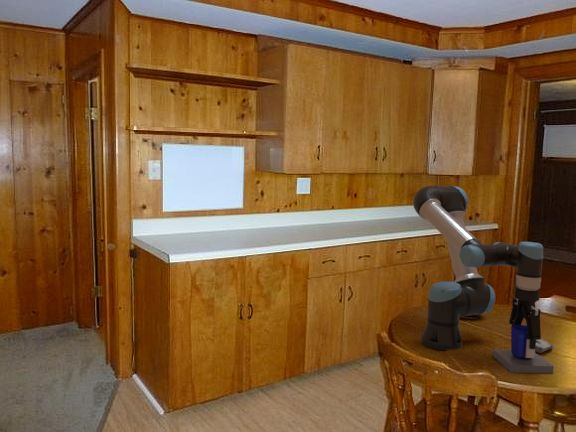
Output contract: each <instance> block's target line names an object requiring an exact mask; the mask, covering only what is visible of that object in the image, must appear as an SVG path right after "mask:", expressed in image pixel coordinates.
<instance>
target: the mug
mask: <svg viewBox="0 0 576 432" xmlns="http://www.w3.org/2000/svg"><path fill="white" fill-rule="evenodd" d="M531 336H532V335H531ZM527 338H528V331H527V325H526V324H521V325H512V324H511V327H510V344H511V345H510V350H511V352H512V354H513V355H514V356H516V357H518V358H522V359H530V358H526V357H525V355H526V343H527Z"/></svg>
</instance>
